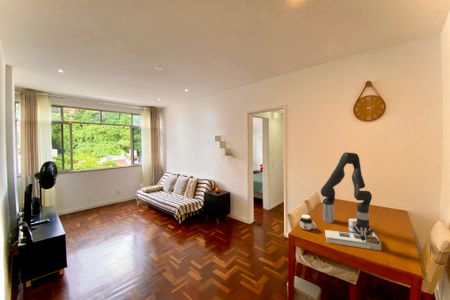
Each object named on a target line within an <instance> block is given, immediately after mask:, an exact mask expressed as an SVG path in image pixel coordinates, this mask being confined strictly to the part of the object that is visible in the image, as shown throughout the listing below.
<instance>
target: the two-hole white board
mask: <svg viewBox="0 0 450 300" xmlns="http://www.w3.org/2000/svg"><path fill="white" fill-rule="evenodd" d="M324 234H325V239H326V243H329V244H335V245H342V246H347V247H348V246H349V247H355V248H360V249H361V248H362V249H369V250H375V251H382V242H381V240H380V239H379V237H378V235H376V234H375V232H374V231H373V232H372V233H371V234H372V235H371V236H375V237H376V238H377V240H378V244H375V243H368V242H366V236H365V240H364V241H362V240H361V238H360V235H358V234H353V233H349V232H344V231H337V230H329V229H328V230H327V229H324ZM368 236H370V235H368Z"/></svg>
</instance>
